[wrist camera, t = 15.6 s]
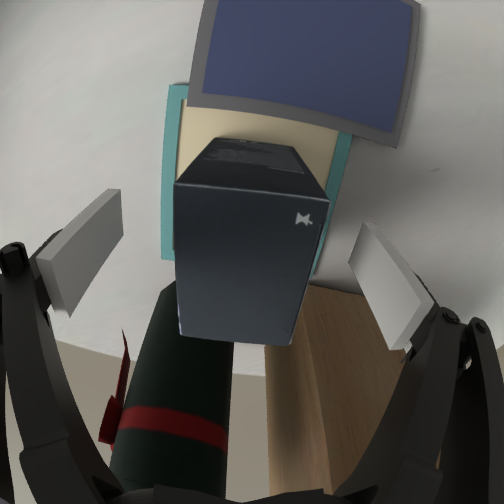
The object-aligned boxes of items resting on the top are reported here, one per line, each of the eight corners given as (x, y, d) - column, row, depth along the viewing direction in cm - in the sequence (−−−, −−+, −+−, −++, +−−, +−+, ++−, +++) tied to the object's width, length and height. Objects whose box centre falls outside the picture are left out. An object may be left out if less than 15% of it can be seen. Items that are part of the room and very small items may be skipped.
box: (212, 135, 17) (169, 180, 9) (294, 145, 18) (339, 199, 9) (205, 235, 22) (177, 339, 13) (277, 242, 22) (292, 349, 13)
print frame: (162, 255, 23) (161, 258, 23) (171, 85, 16) (169, 84, 15) (310, 274, 24) (311, 277, 24) (354, 114, 17) (357, 115, 16)
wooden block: (383, 295, 26) (455, 479, 9) (339, 355, 31) (371, 510, 14) (294, 276, 24) (333, 523, 7) (261, 345, 29) (265, 527, 12)
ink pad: (189, 106, 17) (184, 106, 15) (219, -45, 10) (217, -53, 9) (390, 146, 18) (399, 149, 17) (414, 6, 11) (423, 3, 10)
